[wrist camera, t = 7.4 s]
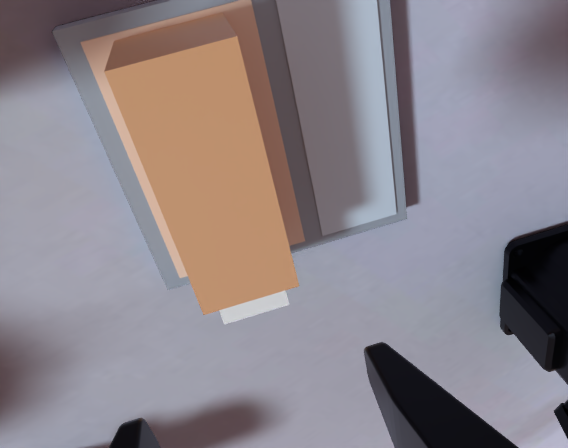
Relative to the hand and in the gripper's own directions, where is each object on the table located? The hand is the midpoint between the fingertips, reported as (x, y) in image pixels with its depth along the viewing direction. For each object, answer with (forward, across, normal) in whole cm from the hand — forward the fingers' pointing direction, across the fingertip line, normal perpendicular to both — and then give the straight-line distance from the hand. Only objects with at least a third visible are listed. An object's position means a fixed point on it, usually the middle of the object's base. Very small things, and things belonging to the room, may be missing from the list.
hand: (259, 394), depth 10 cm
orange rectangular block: (+11, 0, 0) cm, 11 cm away
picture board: (+12, -2, 0) cm, 12 cm away
